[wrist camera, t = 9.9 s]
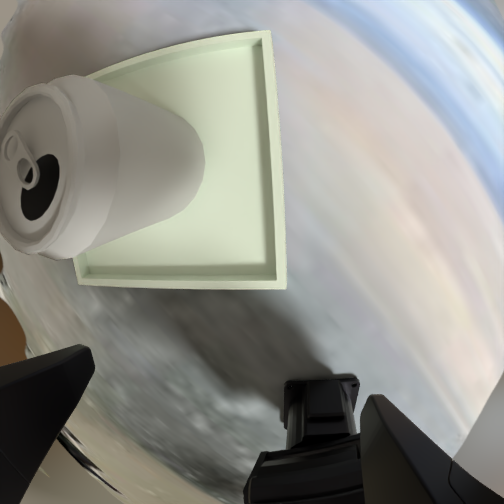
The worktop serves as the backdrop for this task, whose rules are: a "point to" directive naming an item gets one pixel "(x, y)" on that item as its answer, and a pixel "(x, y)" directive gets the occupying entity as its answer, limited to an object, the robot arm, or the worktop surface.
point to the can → (90, 166)
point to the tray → (208, 171)
